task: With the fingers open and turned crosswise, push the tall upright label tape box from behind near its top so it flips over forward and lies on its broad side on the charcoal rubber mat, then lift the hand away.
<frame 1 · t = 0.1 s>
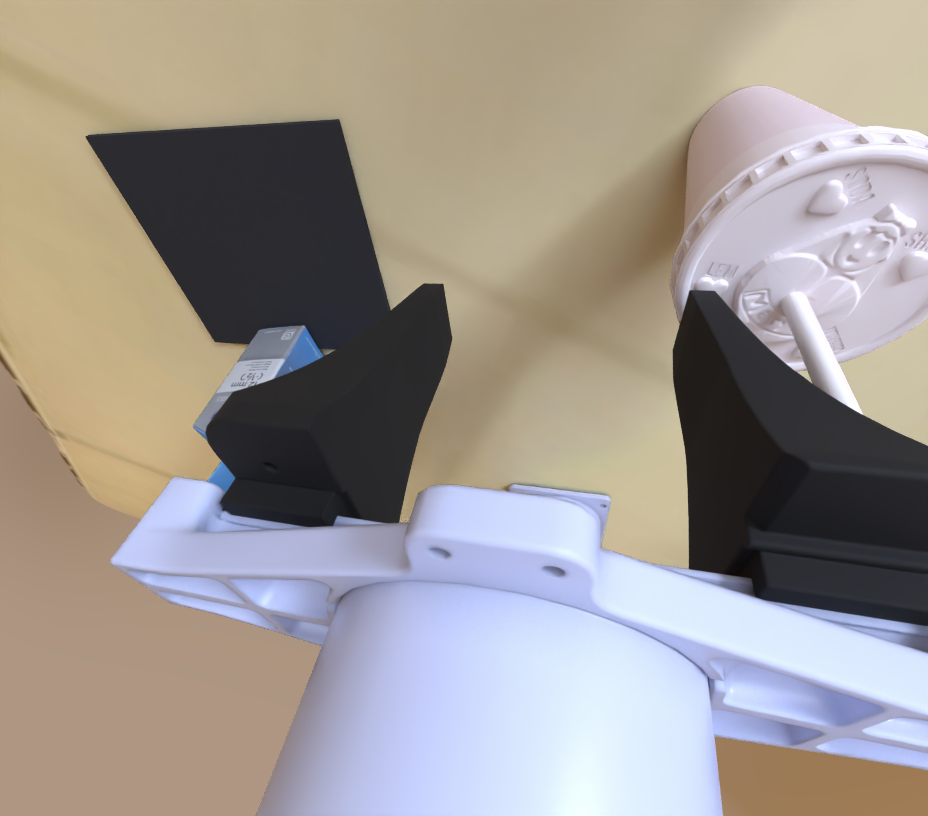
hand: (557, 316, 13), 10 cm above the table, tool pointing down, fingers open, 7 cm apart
label tape box: (316, 370, 33), on the table, touching mat
mat: (263, 255, 27), on the table
smoothie: (740, 140, 18), on the table, touching gripper
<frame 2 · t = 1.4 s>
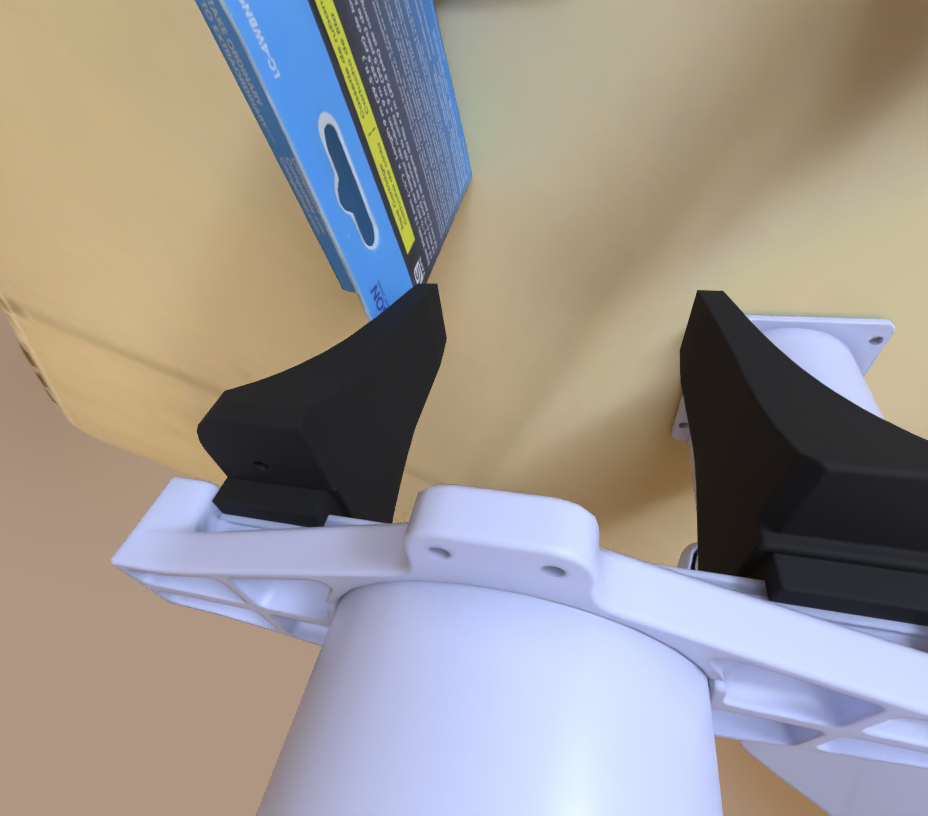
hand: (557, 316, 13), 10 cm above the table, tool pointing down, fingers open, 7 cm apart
label tape box: (411, 72, 19), on the table, touching gripper
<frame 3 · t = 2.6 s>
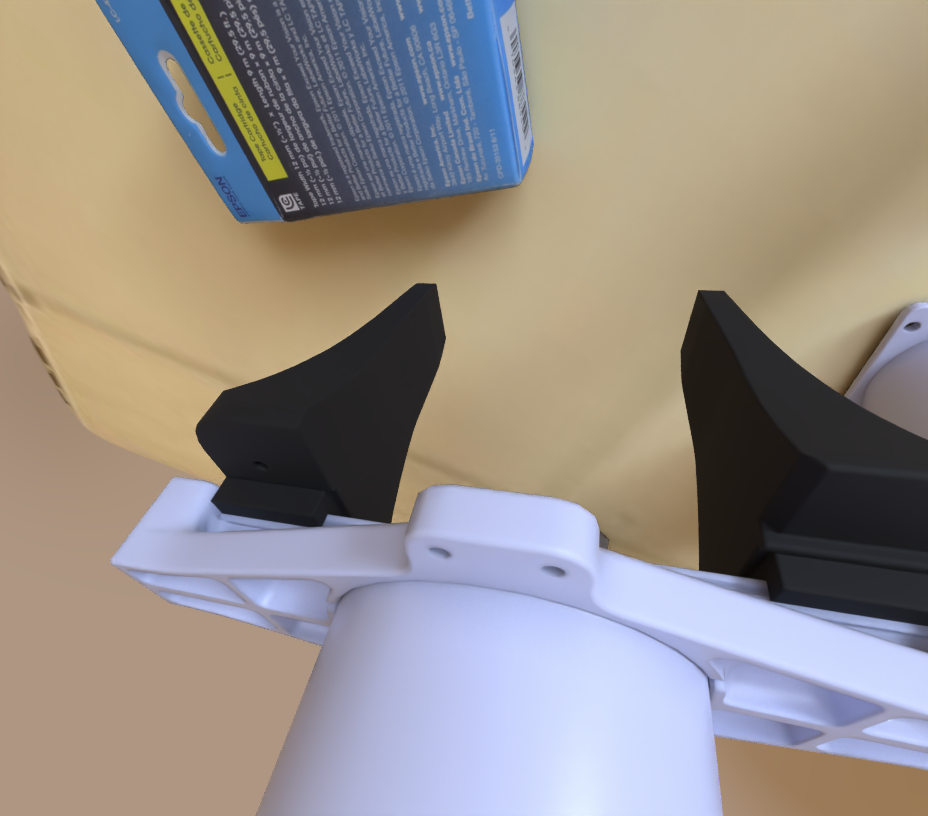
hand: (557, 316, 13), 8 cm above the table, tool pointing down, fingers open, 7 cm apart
label tape box: (516, 9, 13), point 2 cm above the table, touching mat
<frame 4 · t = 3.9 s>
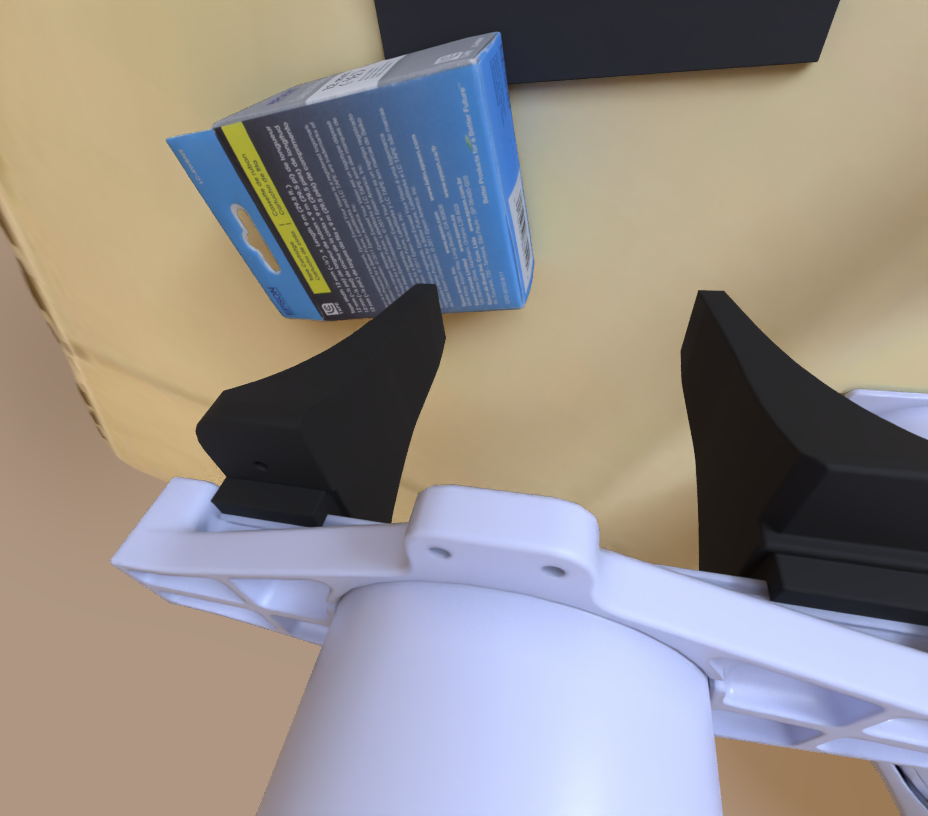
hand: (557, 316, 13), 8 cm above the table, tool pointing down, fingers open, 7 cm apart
label tape box: (520, 185, 17), point 2 cm above the table, touching mat
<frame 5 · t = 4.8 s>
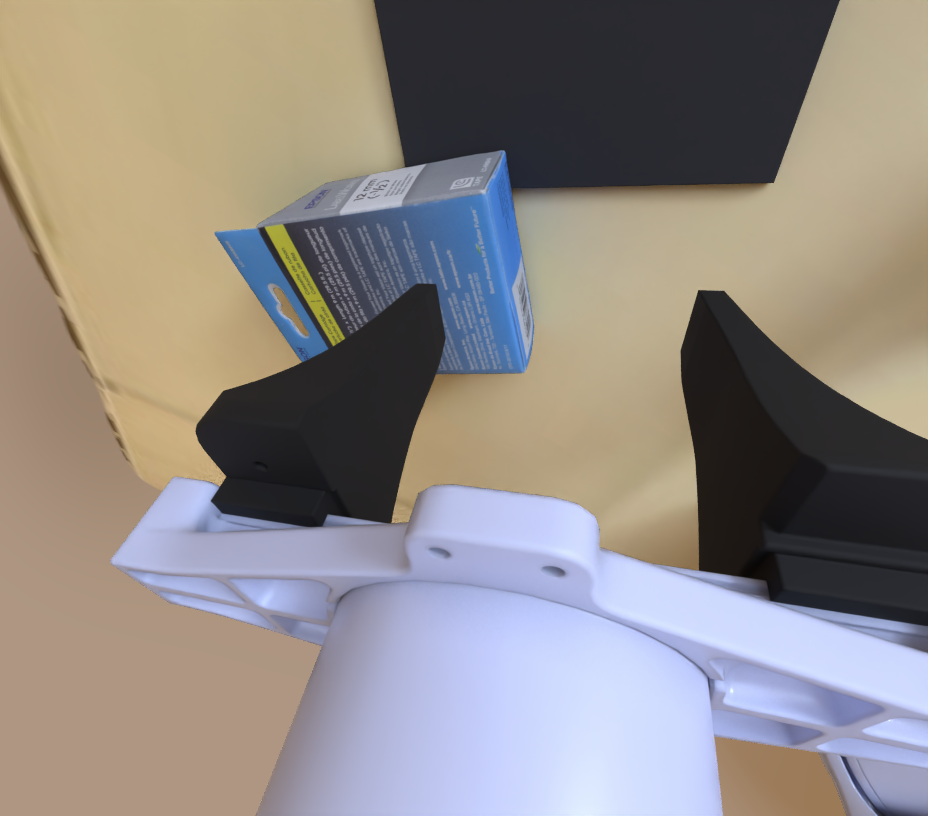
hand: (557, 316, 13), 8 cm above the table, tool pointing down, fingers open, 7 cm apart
label tape box: (522, 273, 20), point 2 cm above the table, touching mat
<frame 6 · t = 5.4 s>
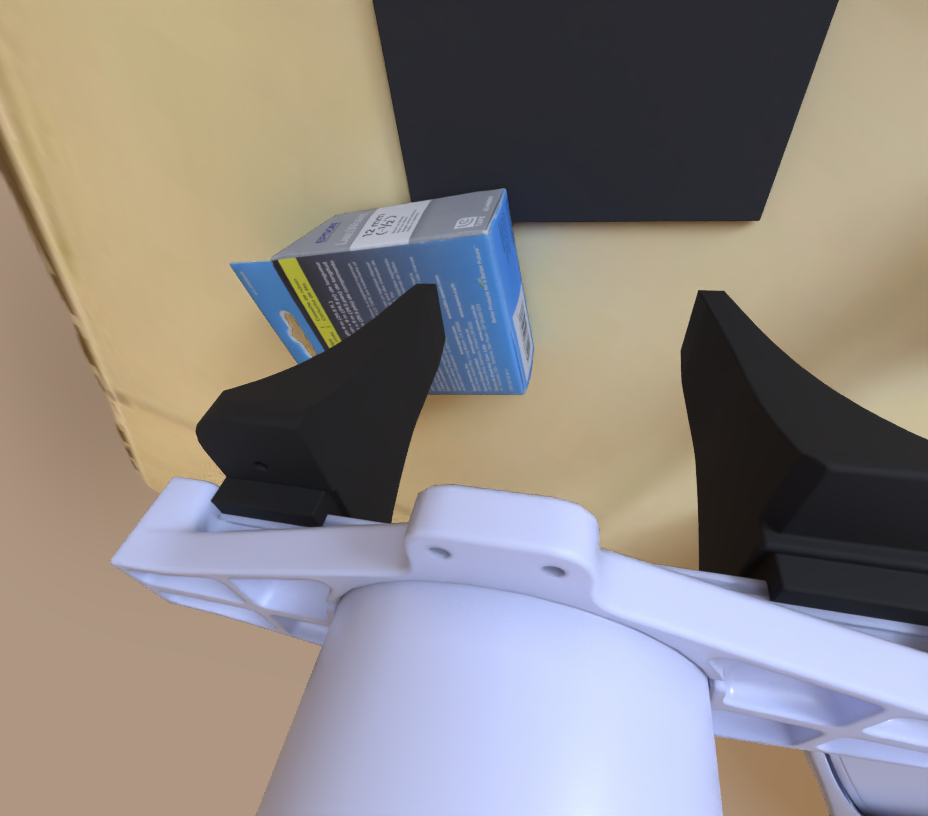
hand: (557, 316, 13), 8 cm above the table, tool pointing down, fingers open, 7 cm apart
label tape box: (522, 302, 21), point 2 cm above the table, touching mat
mat: (586, 18, 15), on the table
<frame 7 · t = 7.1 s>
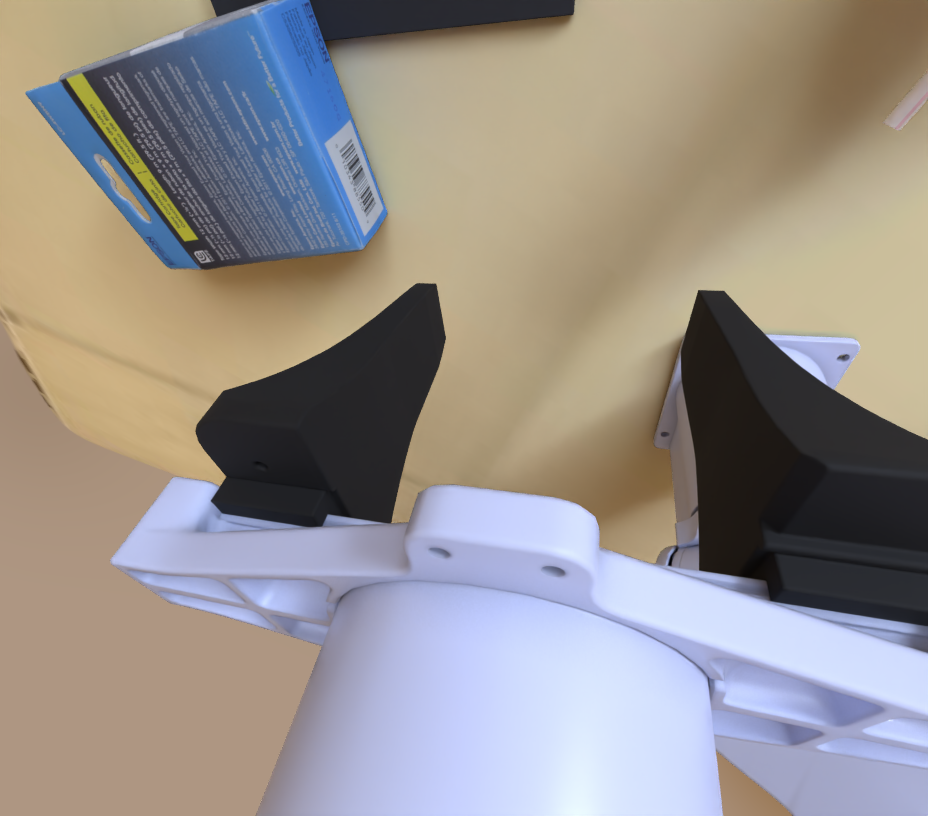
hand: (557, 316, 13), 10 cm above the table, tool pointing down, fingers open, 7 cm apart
label tape box: (342, 132, 19), point 2 cm above the table, touching mat
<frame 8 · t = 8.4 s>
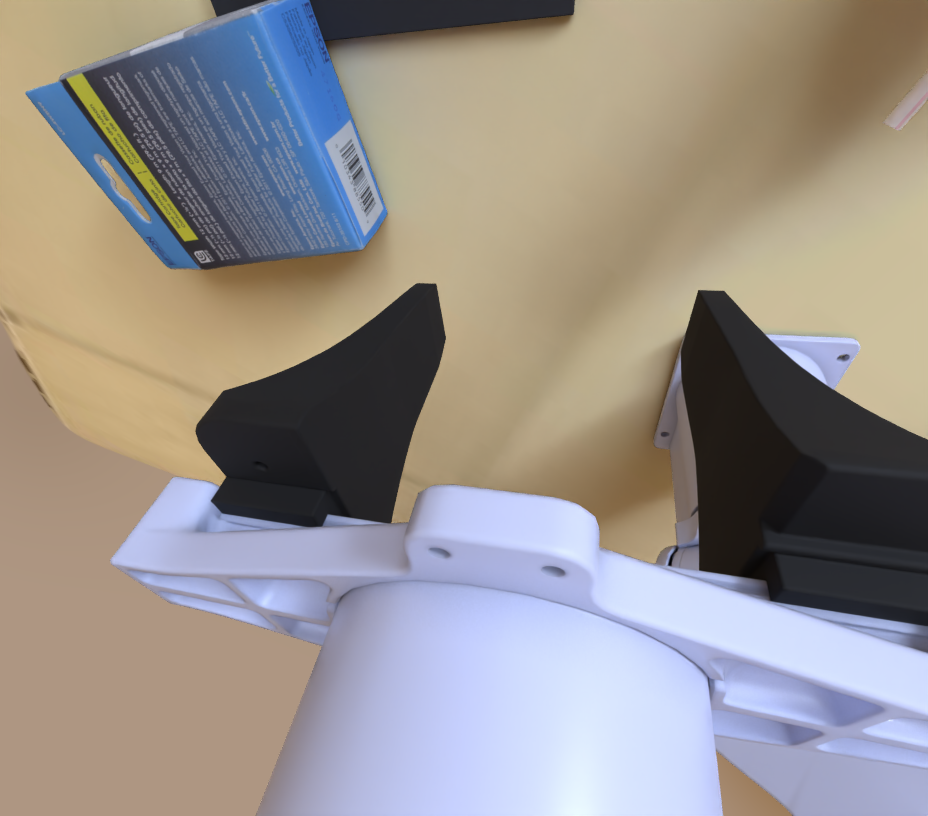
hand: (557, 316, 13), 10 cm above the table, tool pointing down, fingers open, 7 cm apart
label tape box: (342, 132, 19), point 2 cm above the table, touching mat
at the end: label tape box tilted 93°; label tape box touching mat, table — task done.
